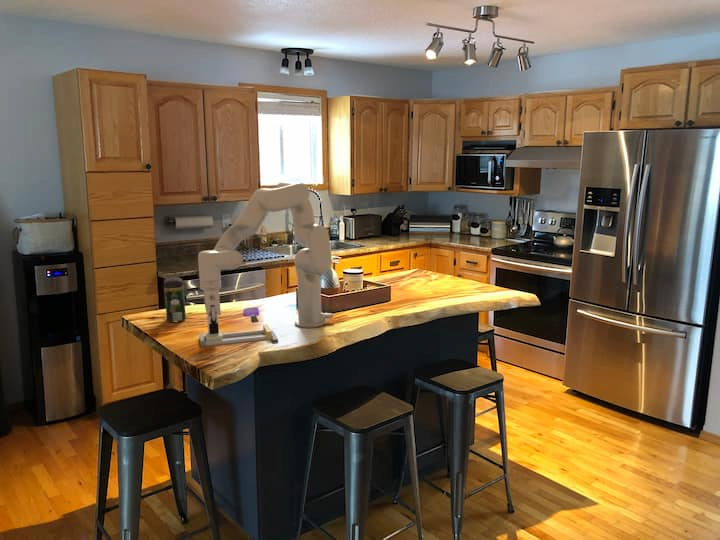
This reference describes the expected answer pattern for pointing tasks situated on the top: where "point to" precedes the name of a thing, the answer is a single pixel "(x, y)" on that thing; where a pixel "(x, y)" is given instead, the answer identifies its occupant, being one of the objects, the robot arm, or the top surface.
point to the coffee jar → (174, 299)
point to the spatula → (252, 313)
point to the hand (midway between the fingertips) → (213, 330)
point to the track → (241, 337)
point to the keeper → (213, 336)
